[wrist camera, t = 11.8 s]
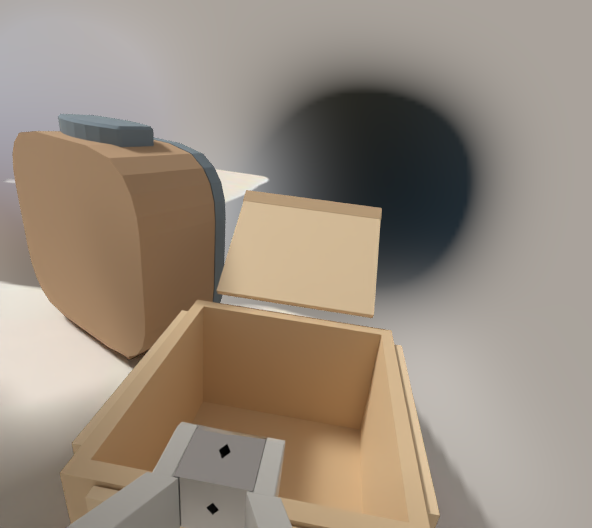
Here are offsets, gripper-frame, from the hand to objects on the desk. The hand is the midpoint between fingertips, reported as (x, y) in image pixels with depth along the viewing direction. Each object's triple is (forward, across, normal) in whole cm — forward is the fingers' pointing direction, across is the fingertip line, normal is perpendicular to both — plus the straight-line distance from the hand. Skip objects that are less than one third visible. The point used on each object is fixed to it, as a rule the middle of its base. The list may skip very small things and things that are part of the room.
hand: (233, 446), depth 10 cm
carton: (+10, 0, +16) cm, 18 cm away
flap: (+17, 0, +5) cm, 18 cm away
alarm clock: (+26, +19, +16) cm, 36 cm away
